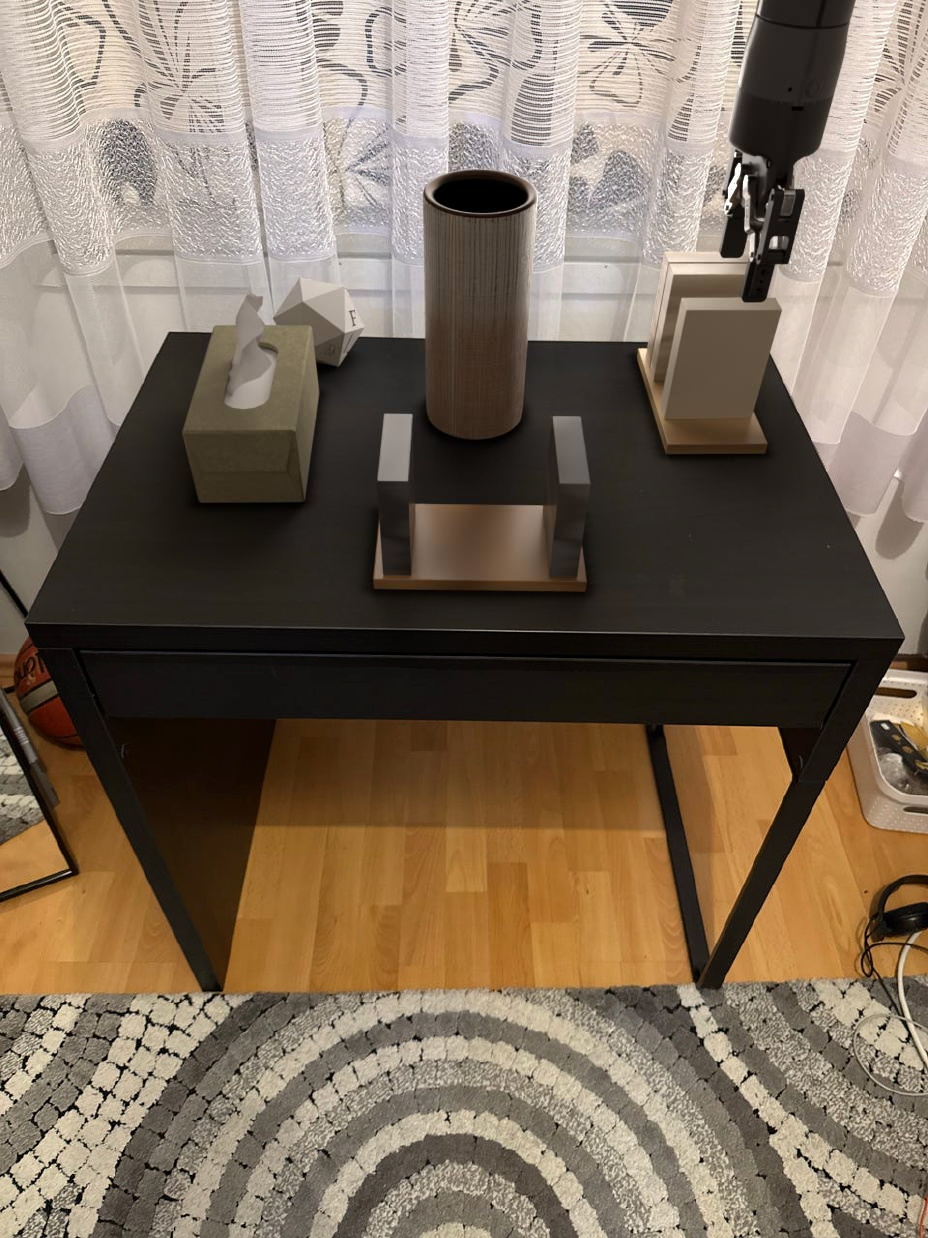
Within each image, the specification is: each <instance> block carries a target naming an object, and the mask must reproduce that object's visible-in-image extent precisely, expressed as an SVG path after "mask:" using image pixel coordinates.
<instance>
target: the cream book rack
mask: <svg viewBox="0 0 928 1238" xmlns="http://www.w3.org/2000/svg"><path fill="white" fill-rule="evenodd" d="M749 253H750V251H744V254H743V256H742V257H740V258H722V257H721V255H720V253H719V251H664V252H663V257H662V262H661V268H660V273H659V278H658V279H659V280H658V285H657V290H656V297H655V302H654V308H653V314H652V319H651V324H650V329H649V335H648V340H647V346H646V348H638V349H637V355H636V359H637V363H638V366H639V367H638V368H639V369H640V374H641V376H642V379H643V383H644V387H645V389H646V393H647V396H648V399H649V402H650V406H651V409H652V413H653V417H654V419H655V423H656V425H657V429H658V432H659V436H660V439H661V443H662V445H663V448H664V452H665V454H666V455H718V454H719V455H729V454H730V455H732V454H734V455H736V454H738V455H740V454H745V455H748V454H766V451H767V448H768V445H769V443H768V442H767V438H766V436H765V434H764V432H763V429H762V427H761V425H760V423H759V420H758V418H757V415H756V413H755V410H753V414H752V417H751V419H664V417H663V414H662V410H661V407H660V404H661V399H662V394H663V389H664V384H665V379H666V374H667V369H668V364H669V359H670V354H671V349H672V343H673V338H674V333H675V328H676V323H677V318H678V313H679V308H680V303H681V299H682V298H741V297H740V293H741V288H742V284H743V280H744V276H745V271H746V267H747V263H748V259H749Z"/></svg>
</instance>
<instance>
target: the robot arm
mask: <svg viewBox="0 0 928 1238" xmlns="http://www.w3.org/2000/svg"><path fill="white" fill-rule="evenodd" d="M856 1H857V0H757V3H756V8H755V12H754V15H753V20H752V24H751V27H750V29H749V33H748V34H747V35H748V36H747V38H746V42H745V45H744V50H743V54H742V55H743V56H742V60H741V63H740V69H739V75H738V80H737V85H736V89H735V95H734V100H733V104H732V110H731V115H730V120H729V123H728V130H727V140H728V143H729V144H730V146H731V149H730V154H729V158H728V163H727V167H726V172H725V176H724V181H723V185H722V189H721V193H720V194H721V199H722V200H724V201H725V200H726V201H725V203H724V207H723V210H724V215H725V220H724V225H723V229H722V234H721V239H720V244H719V248H718V252H719V253H720V255H721V257H722V258H740V257H742V256H743V254H744V252H745V250H746V245H747V241H748V237H749V252H750V253H749V259H748V263H747V267H746V271H745V276H744V280H743V284H742V288H741V293H740V297H741V299H742V301H743V302H745V303H760V302H763V301H765V300H766V298H768V294H769V290H770V287H771V283H772V280H773V275H774V271H775V268H776V265H781V266H782V265H783V266H784V265H788V264H789V263H790V260H791V256H792V252H793V247H794V243H795V239H796V236H797V231H798V227H799V223H800V218H801V215H802V212H803V208H804V207H803V206H804V202H805V199H806V190H805V189H804V188H795V176H794V172H795V168H794V166H795V164H797V162H799V161H800V160H801V159H803V158H807V157H810V156H811V155H813V154H815V153H816V152H818V150H819V149H820V146H821V145H822V141H823V137H824V134H825V129H826V127H827V122H828V118H829V114H830V111H831V108H832V104H833V100H834V97H835V92H836V89H837V85H838V81H839V77H840V74H841V70H842V66H843V63H844V60H845V54H846V49H847V43H848V34H849V28H850V25H851V20H852V16H853V12H854V9H855V5H856ZM759 219H764V220H759ZM771 241H772V245H771V246H770V244H771Z"/></svg>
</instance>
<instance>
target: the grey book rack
mask: <svg viewBox="0 0 928 1238" xmlns="http://www.w3.org/2000/svg"><path fill="white" fill-rule="evenodd" d="M413 418H414V415H413V414H412V413H384V414H383V417H382V426H381V427H382V428H381V439H380V449H379V457H378V466H377V478H376V490H377V504H378V505H377V506H378V527H377V536H376V545H375V555H374V565H373V566H374V567H373V575H372V576H373V577H372V583H373V589H374V590H417V591H418V590H419V591H420V590H423V591H425V590H426V591H429V590H430V591H496V592H498V591H502V592H505V591H506V592H508V591H509V592H576V593H577V592H580V593H581V592H582V593H585V592H586V590H587V584H588V579H587V572H586V564H585V556H584V548H583V539H584V534H585V533H584V532H585V524H586V518H587V513H588V506H589V505H588V504H589V499H590V491H591V484H592V483H591V477H590V471H589V463H588V457H587V449H586V444H585V443H586V442H585V437H584V430H583V429H584V428H583V423H582V417H581V416H572V415H571V416H567V415H566V416H565V415H564V416H563V415H562V416H561V415H553V416H551V422H550V431H549V432H550V434H549V442H548V452H547V453H548V454H547V462H546V473H545V483H544V493H543V501H542V502H543V503H542V505H541V504H540V505H534V504H533V505H531V504H530V505H529V504H462V503H461V504H459V503H457V504H456V503H455V504H451V503H449V504H448V503H416V483H415V482H416V481H415V449H414V447H415V446H414V445H415V444H414V419H413Z"/></svg>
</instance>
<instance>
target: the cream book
mask: <svg viewBox="0 0 928 1238" xmlns="http://www.w3.org/2000/svg"><path fill="white" fill-rule="evenodd" d="M782 312H783V309H782V307H781V305H780V303H779V301H778V299H777V298H776V297H767V298H766V300H765V301H763V302H760V303H745V302H743V301H742V299H741V298H682V299H681V303H680V308H679V313H678V318H677V323H676V328H675V333H674V338H673V343H672V349H671V354H670V359H669V364H668V369H667V374H666V379H665V384H664V389H663V394H662V399H661V404H660V407H661V410H662V414H663V417H664V419H751V417H752V414H753V411H755V406H756V403H757V399H758V396H759V392H760V388H761V385H762V381H763V378H764V375H765V372H766V368H767V364H768V361H769V357H770V354H771V350H772V347H773V343H774V340H775V337H776V332H777V329H778V326H779V322H780V319H781V315H782Z"/></svg>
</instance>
